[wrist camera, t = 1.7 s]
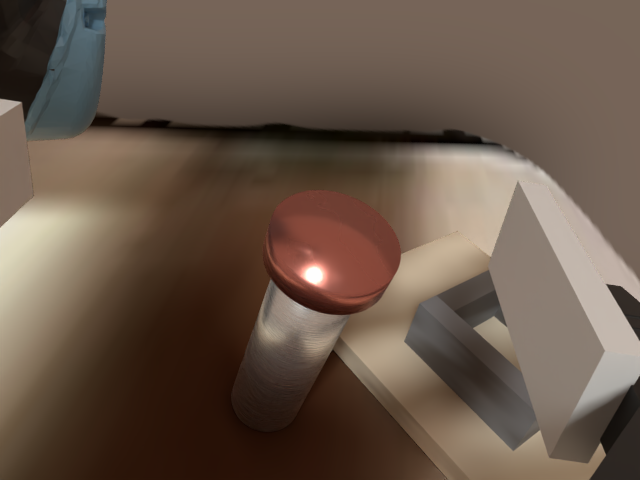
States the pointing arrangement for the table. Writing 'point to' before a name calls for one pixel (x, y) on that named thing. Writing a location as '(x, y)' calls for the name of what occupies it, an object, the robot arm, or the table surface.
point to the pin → (310, 298)
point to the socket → (452, 368)
